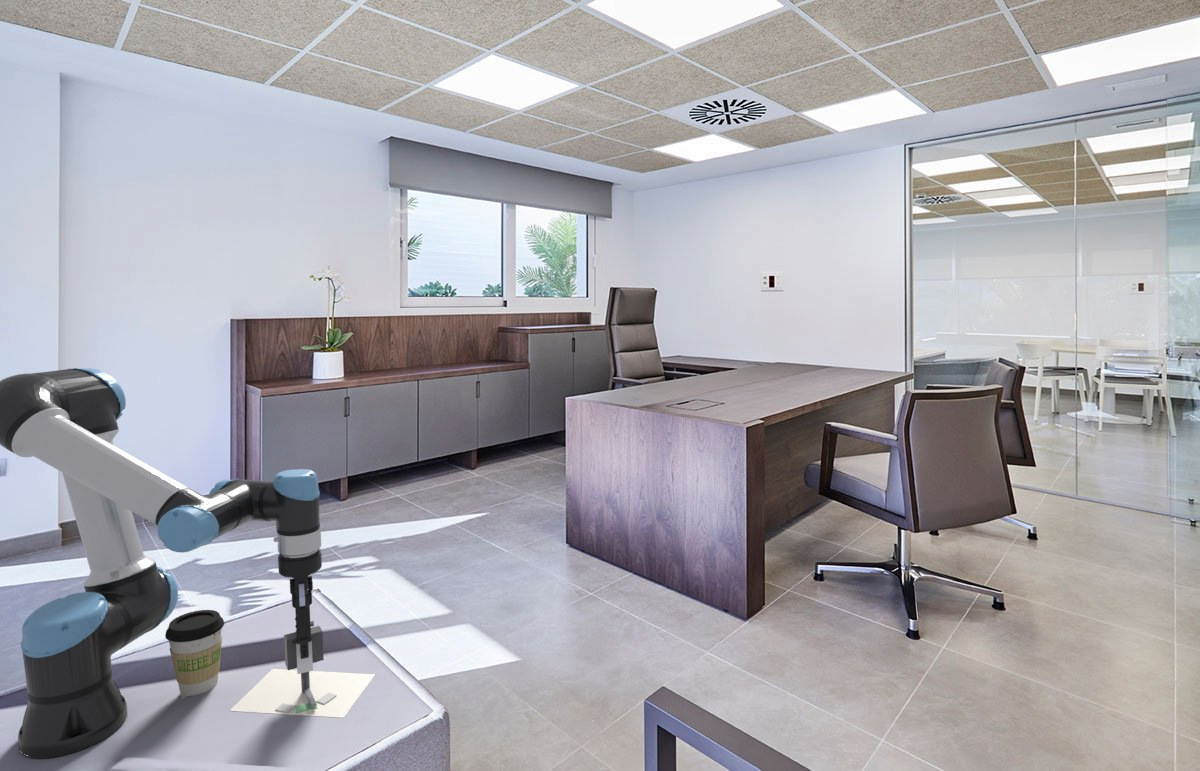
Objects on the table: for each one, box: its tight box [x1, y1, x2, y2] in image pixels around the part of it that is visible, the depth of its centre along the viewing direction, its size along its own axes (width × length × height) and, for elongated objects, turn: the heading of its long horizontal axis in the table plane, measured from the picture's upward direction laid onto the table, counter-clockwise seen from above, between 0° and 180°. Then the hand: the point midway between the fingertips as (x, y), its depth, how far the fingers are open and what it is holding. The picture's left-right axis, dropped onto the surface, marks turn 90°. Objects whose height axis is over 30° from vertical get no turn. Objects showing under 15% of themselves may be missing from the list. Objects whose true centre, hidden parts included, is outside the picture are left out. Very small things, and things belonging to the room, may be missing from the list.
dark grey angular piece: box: [283, 625, 324, 708], centre depth 122 cm, size 8×6×12 cm
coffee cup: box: [164, 609, 225, 700], centre depth 126 cm, size 10×10×15 cm
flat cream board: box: [229, 668, 376, 719], centre depth 125 cm, size 22×14×1 cm, turn 86°
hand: (304, 666), depth 124 cm, fingers closed on dark grey angular piece, 3 cm apart
